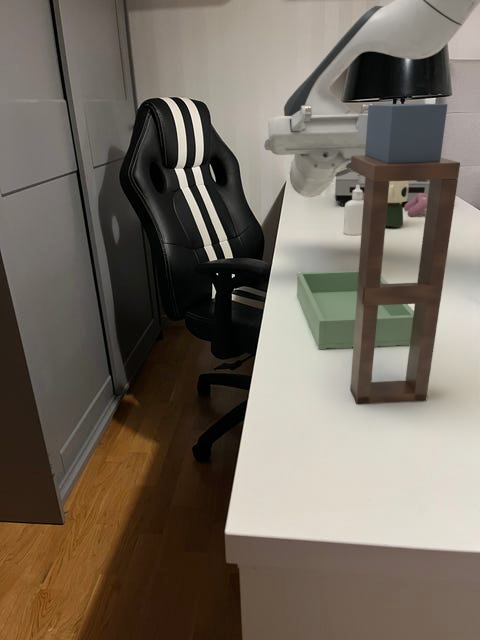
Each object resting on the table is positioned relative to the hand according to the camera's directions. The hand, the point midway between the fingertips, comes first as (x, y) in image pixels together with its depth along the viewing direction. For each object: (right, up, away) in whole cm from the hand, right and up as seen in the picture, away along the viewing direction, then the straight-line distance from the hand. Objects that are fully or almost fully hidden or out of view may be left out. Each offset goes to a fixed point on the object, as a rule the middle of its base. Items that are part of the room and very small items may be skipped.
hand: (337, 108), depth 76 cm
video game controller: (+36, -1, +69) cm, 78 cm away
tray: (+2, -32, +2) cm, 32 cm away
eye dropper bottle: (+14, -10, +50) cm, 53 cm away
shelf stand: (+2, -40, -16) cm, 43 cm away
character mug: (+25, -8, +56) cm, 62 cm away
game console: (+32, +7, +87) cm, 93 cm away
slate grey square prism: (+1, -14, -22) cm, 26 cm away
